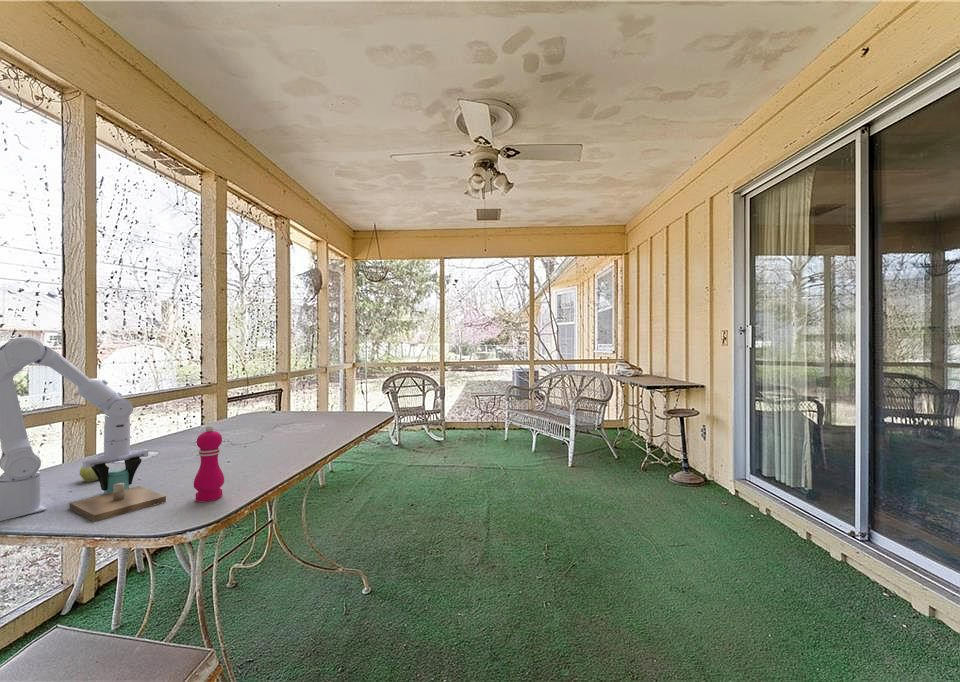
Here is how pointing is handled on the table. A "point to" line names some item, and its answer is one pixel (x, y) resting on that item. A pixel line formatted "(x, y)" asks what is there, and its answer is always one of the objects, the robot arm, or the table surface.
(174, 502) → the table surface
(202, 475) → the pepper mill
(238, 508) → the table surface
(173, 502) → the table surface
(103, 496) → the peg board
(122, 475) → the cap
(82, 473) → the lemon
